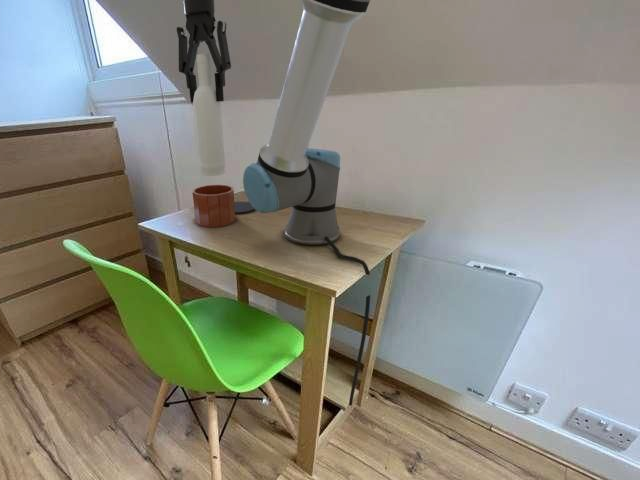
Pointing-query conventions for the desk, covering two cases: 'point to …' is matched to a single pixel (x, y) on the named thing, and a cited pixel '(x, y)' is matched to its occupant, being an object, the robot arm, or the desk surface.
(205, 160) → the bottle
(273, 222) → the desk surface
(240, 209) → the coaster
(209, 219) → the reddish brown pot
